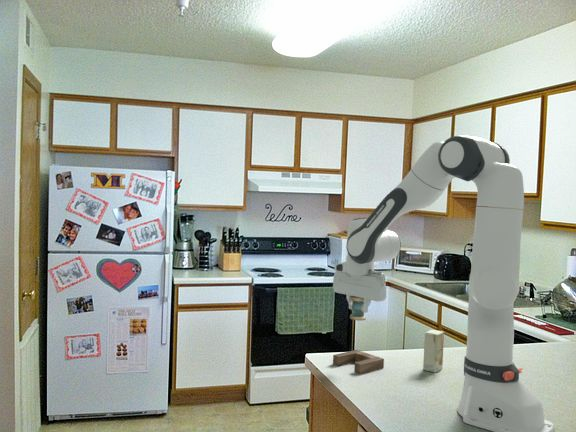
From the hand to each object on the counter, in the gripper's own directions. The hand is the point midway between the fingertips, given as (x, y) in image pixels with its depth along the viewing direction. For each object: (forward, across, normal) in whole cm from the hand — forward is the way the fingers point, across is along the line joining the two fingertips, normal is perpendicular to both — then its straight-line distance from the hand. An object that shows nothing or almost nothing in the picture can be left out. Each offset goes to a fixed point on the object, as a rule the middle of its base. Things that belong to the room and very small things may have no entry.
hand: (358, 310), depth 170 cm
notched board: (+18, 0, -1) cm, 18 cm away
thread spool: (+3, 0, 0) cm, 3 cm away
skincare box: (+18, -16, -19) cm, 31 cm away
